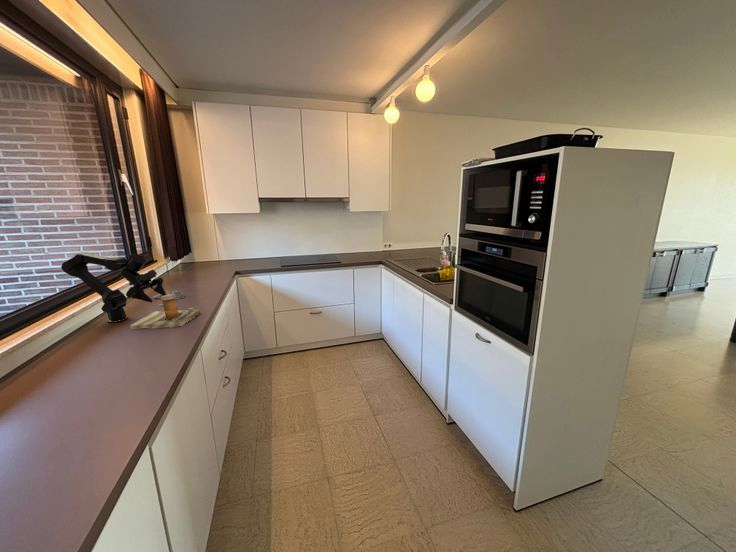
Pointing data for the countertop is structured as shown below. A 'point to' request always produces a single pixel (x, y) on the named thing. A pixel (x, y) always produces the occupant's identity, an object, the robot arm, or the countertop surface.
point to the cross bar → (182, 315)
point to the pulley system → (178, 294)
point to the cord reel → (170, 306)
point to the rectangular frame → (157, 320)
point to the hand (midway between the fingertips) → (159, 298)
